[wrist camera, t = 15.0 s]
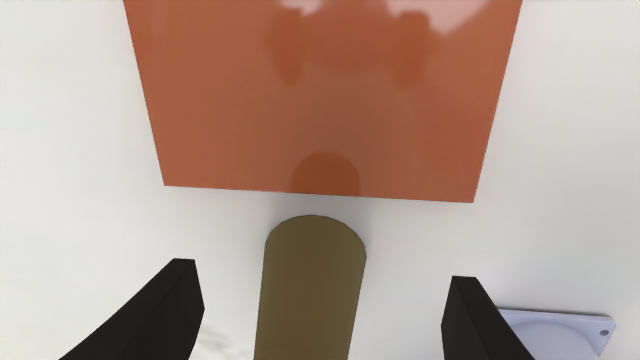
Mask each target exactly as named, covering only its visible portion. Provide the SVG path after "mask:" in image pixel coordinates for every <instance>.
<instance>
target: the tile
mask: <svg viewBox="0 0 640 360" xmlns="http://www.w3.org/2000/svg"><path fill="white" fill-rule="evenodd" d="M123 2H124V7H125V11H126V16H127V20H128V25H129V29H130V34H131V38H132V43H133V47H134V52H135V56H136V61H137V65H138V70H139V74H140V79H141V83H142V88H143V92H144V97H145V101H146V106H147V110H148V115H149V119H150V124H151V128H152V133H153V137H154V142H155V146H156V151H157V155H158V160H159V164H160V169H161V173H162V178H163V182H164V185H165V186H178V187H196V188H214V189H232V190H249V191H267V192H285V193H303V194H321V195H338V196H356V197H374V198H392V199H410V200H427V201H445V202H463V203H473V201H474V197H475V193H476V189H477V185H478V181H479V177H480V173H481V169H482V164H483V160H484V156H485V152H486V148H487V144H488V140H489V136H490V132H491V128H492V123H493V119H494V115H495V111H496V107H497V103H498V99H499V95H500V91H501V86H502V82H503V78H504V74H505V70H506V66H507V62H508V58H509V54H510V49H511V45H512V41H513V37H514V33H515V29H516V25H517V21H518V17H519V12H520V8H521V4H522V0H123Z"/></svg>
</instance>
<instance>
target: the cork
mask: <svg viewBox="0 0 640 360" xmlns="http://www.w3.org/2000/svg"><path fill="white" fill-rule="evenodd" d="M365 262H366V253H365V248H364V244H363V243H362V241H361V240H360V238H359V237H358V235H357V234H356V233H355V232H354V231H353V230H351V229H350V228H349V227H348V226H346V225H345V224H344V223H341V222H339V221H336V220H334V219H331V218H329V217H322V216H315V215H308V216H300V217H294V218H292V219H289V220H287V221H285V222H282V223H281V224H279V225H278V226H277V227H276V228H275V229H274V230H273V231H271V233H270V235H269V237H268V239H267V241H266V243H265V251H264V261H263V271H262V281H261V291H260V301H259V310H258V320H257V330H256V340H255V350H254V360H347V359H348V354H349V348H350V343H351V337H352V332H353V327H354V321H355V316H356V310H357V305H358V300H359V294H360V289H361V283H362V278H363V273H364V267H365Z"/></svg>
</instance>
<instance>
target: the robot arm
mask: <svg viewBox="0 0 640 360" xmlns="http://www.w3.org/2000/svg"><path fill="white" fill-rule="evenodd" d="M204 310H205V308H204V303H203V298H202V293H201V289H200V284H199V279H198V274H197V269H196V265H195V260H194V259H178V258H173V259H172V260H171V261H170V262H169V263H168V264H167V265H166V266H165V267H164V268H163V269H162V270H161V271H159V272H158V273H157V274H156V275H155V276H154V277H153V278H152V279H151V280H150V281H149V282H148V283H147V284H146V285H145V286H144V287H143V288H142V289H141V290H140V291H139V292H138V293H136V294H135V295H134V296H133V297H132V298H131V299H130V300H129V301H128V302H127V303H126V304H125V305H123V306H122V307H121V308H120V309H119V310H118V311H117V312H116V313H115V314H114V315H113V316H111V317H110V318H109V319H108V320H107V321H106V322H104V323H103V324H102V325H101V326H100V327H99V328H97V329H96V330H95V331H94V332H93V333H91V334H90V335H89V336H88V337H87V338H86V339H84V340H83V341H82V342H81V343H79V344H78V345H77V346H76V347H74V348H73V349H72V350H71V351H69V352H68V353H67V354H65V355H64V356H63V357H62V358H60V359H59V360H188V359H189V357H190V354H191V352H192V350H193V347H194V345H195V342H196V338H197V335H198V332H199V328H200V325H201V321H202V317H203V314H204ZM615 328H616V324H615V322H614V320H613V319H612V318H610V317H601V316H587V315H573V314H560V313H546V312H532V311H518V310H505V309H497V307H496V306H495V305H494V303H493V302H492V300H491V299H490V297H489V296H488V294H487V293H486V291H485V290H484V288H483V287H482V285H481V284H480V282H479V281H478V280H477V278H476V277H464V276H452V280H451V284H450V288H449V293H448V297H447V302H446V306H445V310H444V315H443V319H442V323H441V332H442V342H443V351H444V359H445V360H598V357H599V356H600V354H601V352H602V350H603V349H604V347H605V345H606V343H607V342H608V340H609V338H610V336H611V335H612V333H613V331H614V329H615Z"/></svg>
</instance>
